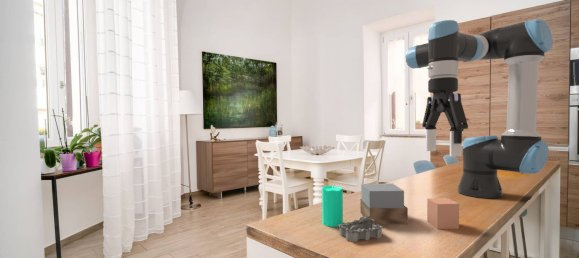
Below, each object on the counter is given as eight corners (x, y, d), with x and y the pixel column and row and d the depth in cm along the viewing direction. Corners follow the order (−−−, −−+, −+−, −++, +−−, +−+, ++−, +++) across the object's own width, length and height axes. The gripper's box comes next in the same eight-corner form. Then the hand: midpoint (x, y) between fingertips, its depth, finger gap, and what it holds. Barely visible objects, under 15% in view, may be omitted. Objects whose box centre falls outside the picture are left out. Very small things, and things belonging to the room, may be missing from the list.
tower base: (394, 213, 100) (394, 198, 100) (407, 225, 89) (407, 207, 89) (360, 213, 100) (360, 198, 100) (369, 225, 89) (369, 208, 89)
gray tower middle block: (392, 198, 99) (392, 183, 99) (404, 207, 89) (404, 190, 89) (361, 199, 99) (361, 183, 99) (369, 208, 89) (369, 191, 89)
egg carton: (371, 229, 86) (371, 214, 86) (386, 239, 79) (386, 223, 78) (335, 233, 83) (335, 218, 83) (348, 244, 76) (348, 227, 75)
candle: (318, 221, 92) (318, 181, 91) (335, 218, 94) (335, 179, 94) (328, 228, 86) (328, 185, 86) (346, 224, 89) (346, 183, 88)
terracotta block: (447, 221, 91) (447, 198, 90) (458, 228, 85) (459, 203, 84) (427, 222, 91) (427, 198, 90) (437, 229, 85) (437, 204, 84)
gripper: (411, 83, 99) (411, 149, 99) (453, 71, 74) (453, 159, 74) (434, 83, 99) (434, 149, 100) (484, 70, 74) (483, 158, 75)
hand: (442, 153), depth 87 cm, fingers open, 13 cm apart
